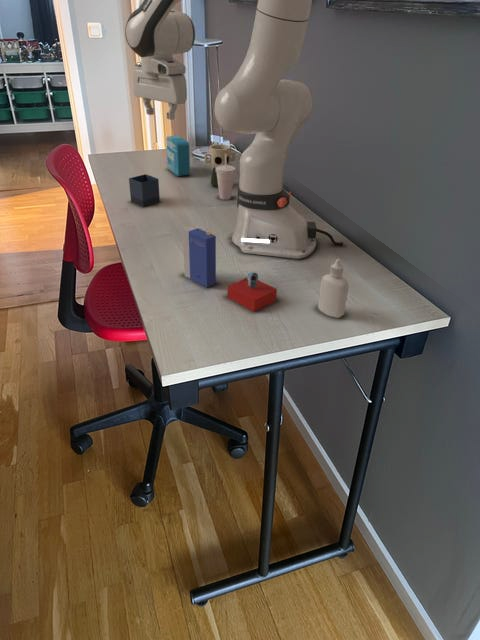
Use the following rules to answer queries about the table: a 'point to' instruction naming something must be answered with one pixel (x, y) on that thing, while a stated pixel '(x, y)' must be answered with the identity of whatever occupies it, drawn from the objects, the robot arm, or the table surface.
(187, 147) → the data package
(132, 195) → the bin
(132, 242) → the table surface
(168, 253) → the table surface
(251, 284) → the red slab
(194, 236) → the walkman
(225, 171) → the smoothie
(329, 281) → the eye dropper bottle
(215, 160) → the character mug
